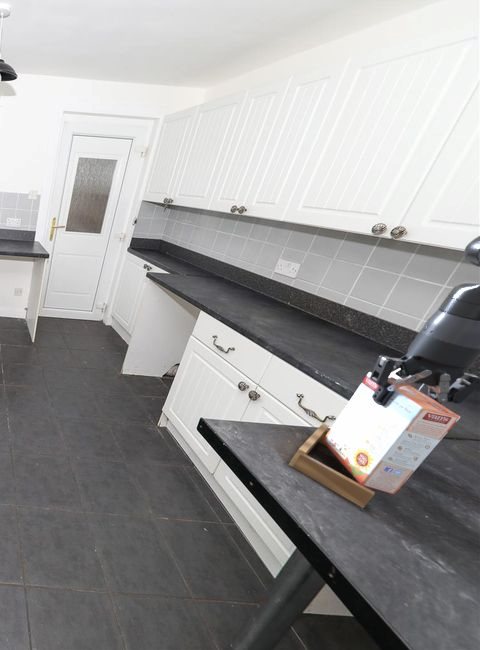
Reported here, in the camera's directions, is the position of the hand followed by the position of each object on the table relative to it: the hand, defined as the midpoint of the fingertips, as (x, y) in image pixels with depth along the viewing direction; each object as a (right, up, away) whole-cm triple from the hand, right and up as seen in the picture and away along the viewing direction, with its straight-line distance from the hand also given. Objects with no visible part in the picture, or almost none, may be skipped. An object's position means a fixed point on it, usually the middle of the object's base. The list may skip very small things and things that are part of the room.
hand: (399, 408), depth 69 cm
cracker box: (-2, -15, +7) cm, 17 cm away
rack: (-3, -17, +9) cm, 20 cm away
